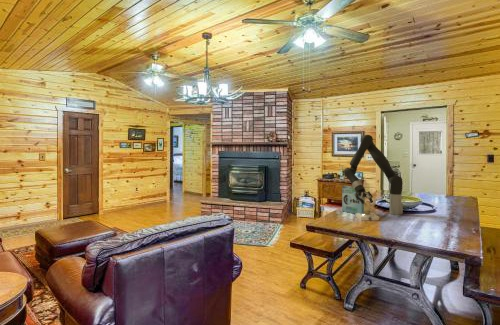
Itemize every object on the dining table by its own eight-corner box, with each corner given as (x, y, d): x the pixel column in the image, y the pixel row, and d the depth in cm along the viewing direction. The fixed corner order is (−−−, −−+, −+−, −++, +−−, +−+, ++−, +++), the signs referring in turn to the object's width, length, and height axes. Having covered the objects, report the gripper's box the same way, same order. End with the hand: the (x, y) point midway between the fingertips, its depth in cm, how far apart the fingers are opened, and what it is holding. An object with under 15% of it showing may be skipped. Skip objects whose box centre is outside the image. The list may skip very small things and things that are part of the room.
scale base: (373, 216, 242) (373, 212, 242) (379, 220, 230) (379, 216, 230) (356, 216, 243) (356, 213, 243) (361, 220, 231) (361, 216, 231)
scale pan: (371, 213, 242) (371, 212, 242) (376, 216, 231) (376, 215, 231) (358, 213, 242) (358, 212, 242) (362, 216, 231) (362, 215, 231)
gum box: (342, 211, 263) (341, 186, 262) (345, 210, 266) (345, 185, 265) (361, 215, 248) (361, 188, 246) (365, 214, 251) (365, 187, 250)
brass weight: (369, 213, 239) (369, 201, 238) (371, 214, 234) (371, 202, 233) (362, 213, 239) (362, 201, 239) (365, 214, 234) (365, 202, 234)
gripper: (353, 185, 241) (362, 201, 230) (367, 183, 245) (377, 199, 235) (349, 190, 246) (358, 206, 236) (363, 189, 250) (372, 204, 240)
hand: (367, 203), depth 235 cm, fingers open, 8 cm apart
